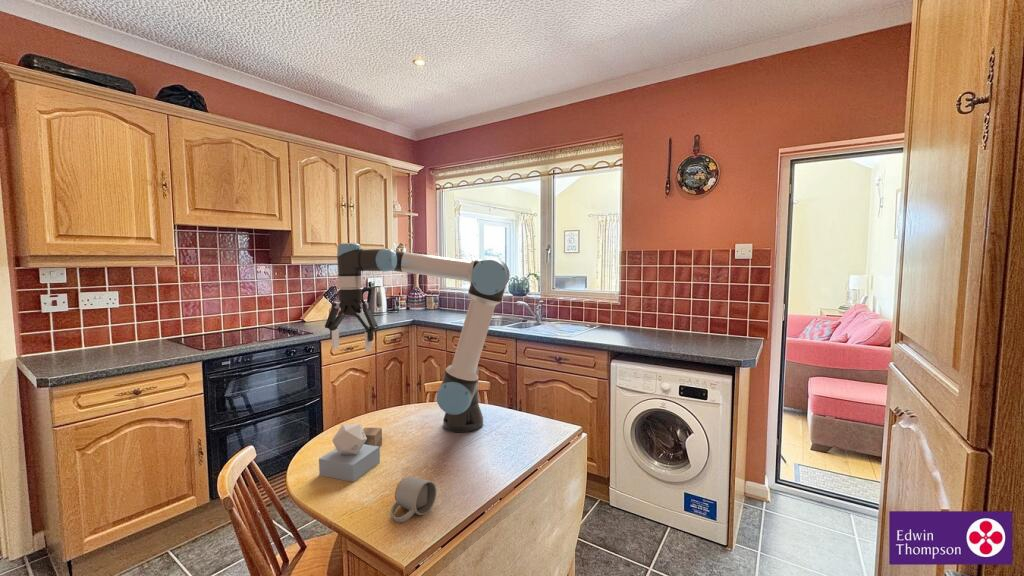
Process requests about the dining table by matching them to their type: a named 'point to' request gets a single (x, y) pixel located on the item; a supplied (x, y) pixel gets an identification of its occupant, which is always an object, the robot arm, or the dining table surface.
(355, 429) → the die
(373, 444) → the walnut cube
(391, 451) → the dining table surface
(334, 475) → the plinth
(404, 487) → the ceramic mug
